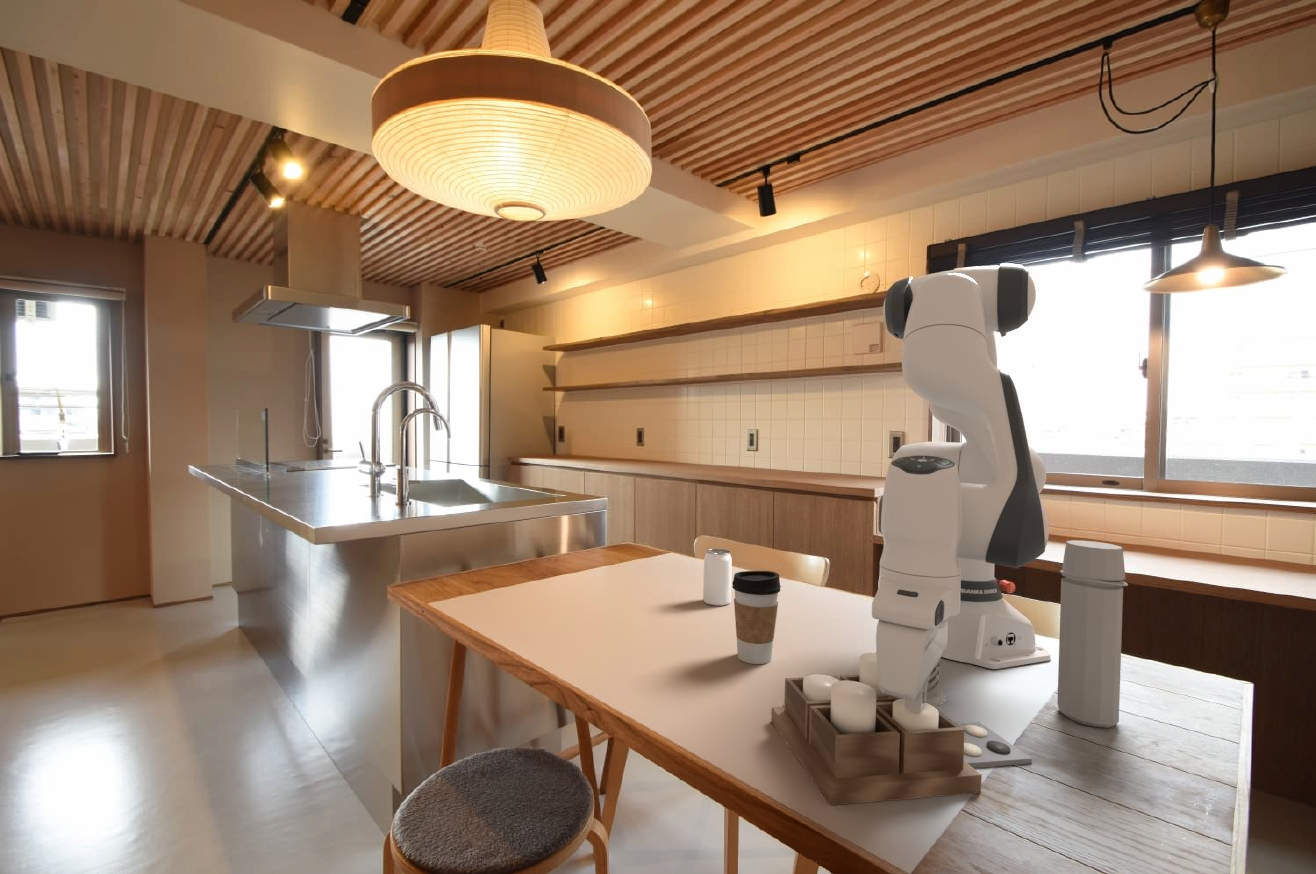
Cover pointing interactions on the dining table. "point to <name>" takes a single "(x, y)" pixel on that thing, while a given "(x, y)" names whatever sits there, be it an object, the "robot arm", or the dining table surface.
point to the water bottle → (1091, 632)
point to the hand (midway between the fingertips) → (915, 708)
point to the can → (717, 577)
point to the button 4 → (915, 716)
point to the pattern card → (989, 747)
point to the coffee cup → (755, 614)
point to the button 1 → (818, 687)
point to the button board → (873, 752)
